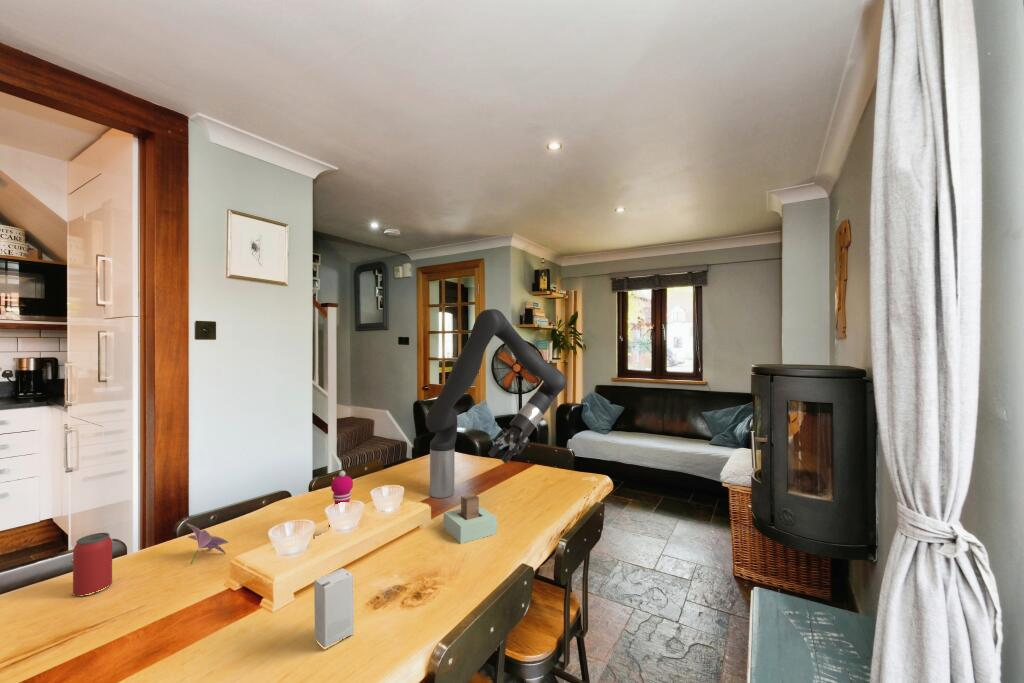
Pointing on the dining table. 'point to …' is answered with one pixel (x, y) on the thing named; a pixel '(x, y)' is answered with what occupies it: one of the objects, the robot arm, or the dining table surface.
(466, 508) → the peg
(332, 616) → the skincare box
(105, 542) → the beer can
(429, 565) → the dining table surface
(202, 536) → the lily
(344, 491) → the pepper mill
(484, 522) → the socket
